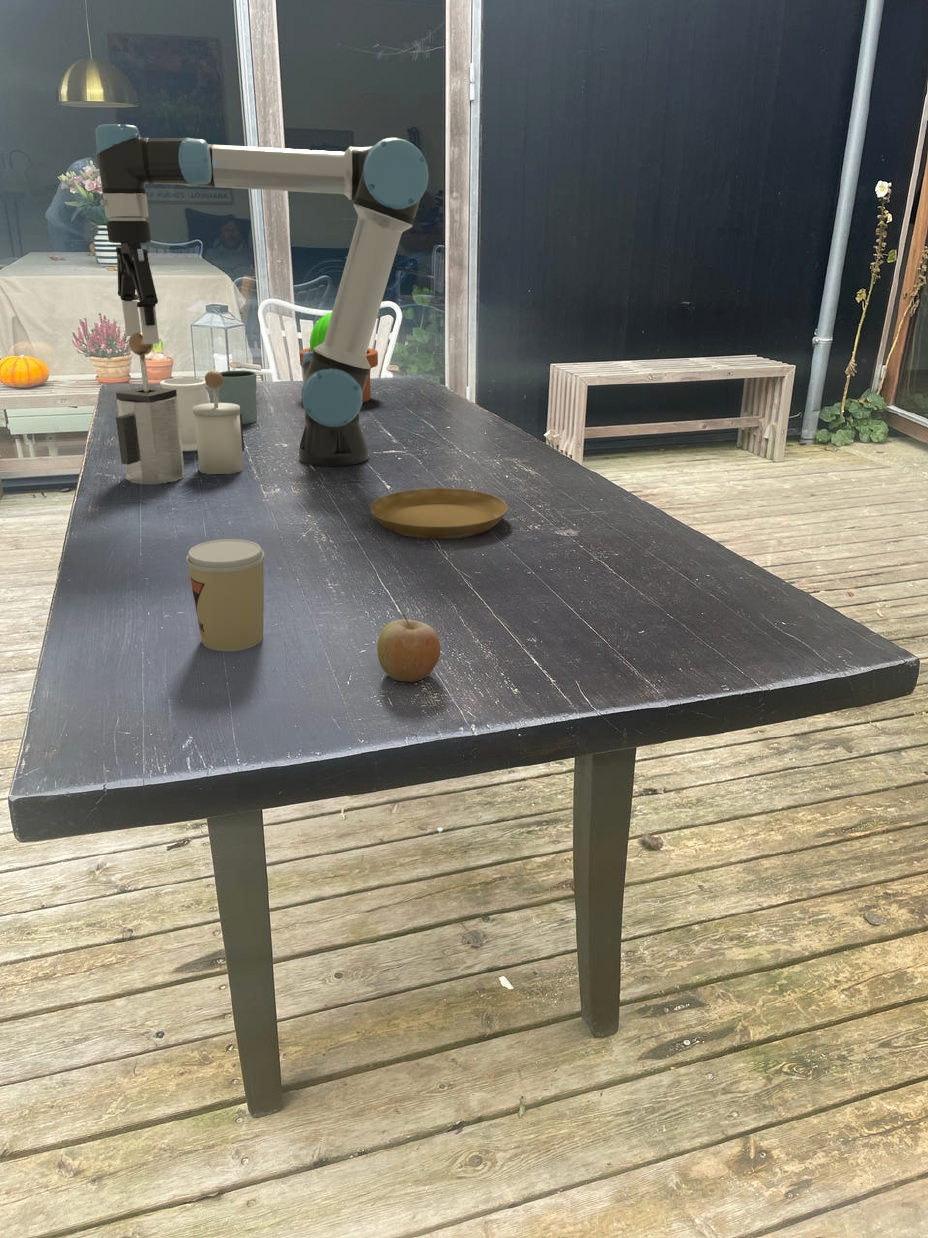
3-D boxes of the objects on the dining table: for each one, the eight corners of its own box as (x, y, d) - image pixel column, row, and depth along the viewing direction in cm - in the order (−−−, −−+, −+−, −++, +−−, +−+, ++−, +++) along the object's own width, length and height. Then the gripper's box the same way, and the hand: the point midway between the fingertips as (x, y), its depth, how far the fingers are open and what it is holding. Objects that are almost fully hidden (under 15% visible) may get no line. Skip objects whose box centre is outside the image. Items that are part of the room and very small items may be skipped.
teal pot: (267, 420, 247) (264, 372, 242) (239, 426, 239) (235, 377, 234) (239, 415, 252) (235, 368, 247) (210, 421, 244) (206, 373, 239)
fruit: (365, 683, 111) (364, 620, 108) (392, 658, 117) (391, 598, 114) (426, 695, 109) (426, 631, 105) (449, 669, 115) (450, 608, 112)
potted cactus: (303, 393, 284) (299, 305, 274) (377, 392, 286) (375, 305, 276) (300, 407, 264) (295, 312, 254) (379, 406, 266) (377, 313, 256)
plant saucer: (346, 533, 163) (345, 515, 162) (405, 498, 184) (405, 481, 182) (478, 553, 155) (478, 533, 154) (524, 513, 175) (525, 496, 174)
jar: (201, 454, 212) (195, 385, 206) (158, 451, 213) (151, 383, 208) (222, 444, 221) (216, 378, 215) (180, 441, 223) (174, 376, 217)
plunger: (181, 438, 192) (170, 331, 184) (154, 447, 186) (142, 335, 177) (149, 434, 195) (137, 328, 187) (122, 442, 189) (108, 332, 180)
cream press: (260, 464, 204) (253, 367, 196) (226, 477, 194) (218, 375, 186) (224, 459, 208) (216, 364, 200) (189, 471, 198) (179, 371, 190)
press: (195, 473, 196) (187, 389, 189) (150, 490, 184) (139, 400, 178) (152, 467, 200) (142, 384, 193) (105, 483, 188) (93, 395, 182)
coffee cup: (201, 625, 126) (192, 538, 121) (273, 623, 126) (267, 537, 122) (188, 655, 117) (179, 563, 112) (265, 653, 118) (259, 562, 113)
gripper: (92, 218, 182) (107, 333, 191) (122, 220, 163) (138, 348, 171) (132, 218, 186) (145, 331, 194) (166, 220, 166) (180, 345, 175)
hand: (142, 339), depth 183 cm, fingers open, 13 cm apart
